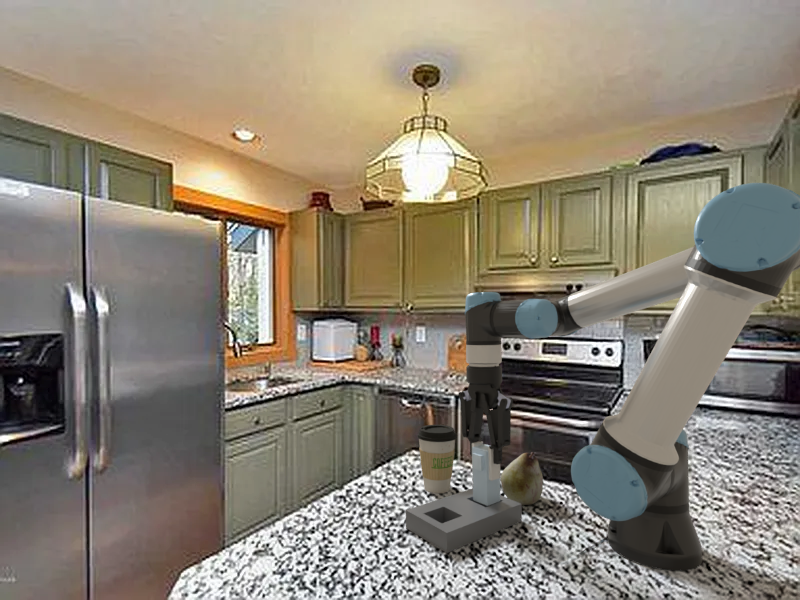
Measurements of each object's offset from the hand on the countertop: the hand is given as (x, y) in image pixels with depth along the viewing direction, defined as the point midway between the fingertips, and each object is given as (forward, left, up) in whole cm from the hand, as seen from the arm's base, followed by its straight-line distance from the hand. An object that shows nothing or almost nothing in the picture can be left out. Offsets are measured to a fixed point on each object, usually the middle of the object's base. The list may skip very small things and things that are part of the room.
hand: (486, 475), depth 95 cm
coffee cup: (+18, -2, -9) cm, 21 cm away
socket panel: (0, +6, -9) cm, 11 cm away
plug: (0, 0, -5) cm, 5 cm away
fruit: (+1, -13, -9) cm, 16 cm away
